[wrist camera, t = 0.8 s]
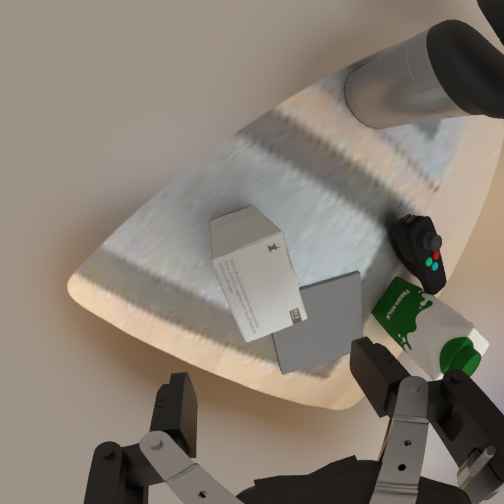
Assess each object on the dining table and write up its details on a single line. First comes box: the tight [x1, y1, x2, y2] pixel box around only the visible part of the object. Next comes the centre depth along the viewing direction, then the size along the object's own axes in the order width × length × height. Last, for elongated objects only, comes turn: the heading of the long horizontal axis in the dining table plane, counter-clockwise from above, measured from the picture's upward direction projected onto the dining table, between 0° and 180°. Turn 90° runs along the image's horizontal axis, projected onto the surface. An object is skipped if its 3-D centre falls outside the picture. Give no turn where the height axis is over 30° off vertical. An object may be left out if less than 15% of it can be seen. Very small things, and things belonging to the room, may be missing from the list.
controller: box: [390, 214, 447, 295], centre depth 33 cm, size 4×12×10 cm, turn 34°
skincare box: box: [210, 206, 308, 342], centre depth 28 cm, size 8×6×15 cm
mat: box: [273, 271, 363, 375], centre depth 39 cm, size 14×14×1 cm
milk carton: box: [372, 277, 489, 381], centre depth 31 cm, size 9×9×20 cm
